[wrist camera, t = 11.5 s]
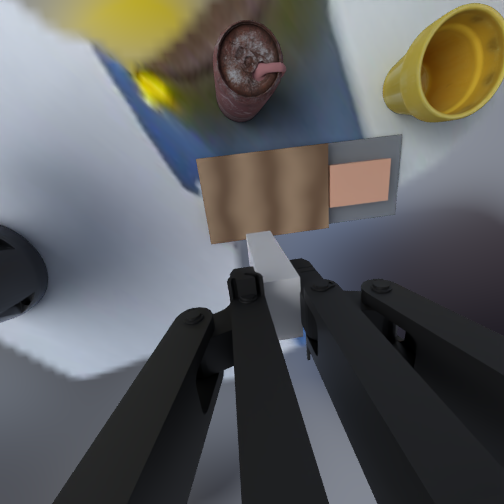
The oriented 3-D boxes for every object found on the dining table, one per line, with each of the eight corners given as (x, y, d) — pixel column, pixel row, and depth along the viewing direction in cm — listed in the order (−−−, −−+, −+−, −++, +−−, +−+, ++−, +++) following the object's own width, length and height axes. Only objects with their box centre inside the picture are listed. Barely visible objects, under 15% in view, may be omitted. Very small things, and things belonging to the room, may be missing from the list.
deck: (211, 239, 41) (211, 244, 38) (197, 158, 36) (196, 159, 34) (322, 223, 42) (328, 227, 39) (321, 144, 37) (328, 143, 35)
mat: (322, 223, 42) (323, 224, 41) (321, 144, 37) (322, 143, 37) (393, 214, 42) (395, 214, 42) (400, 134, 38) (402, 134, 38)
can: (264, 121, 36) (288, 100, 23) (218, 123, 35) (216, 103, 22) (263, 69, 34) (289, 13, 20) (214, 70, 33) (208, 14, 20)
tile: (325, 205, 40) (330, 207, 38) (324, 165, 38) (330, 165, 36) (380, 198, 41) (387, 200, 39) (383, 158, 39) (391, 158, 37)
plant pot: (359, 121, 37) (404, 109, 28) (382, 34, 34) (442, -12, 24) (422, 134, 39) (485, 127, 29) (450, 52, 35) (531, 15, 26)
